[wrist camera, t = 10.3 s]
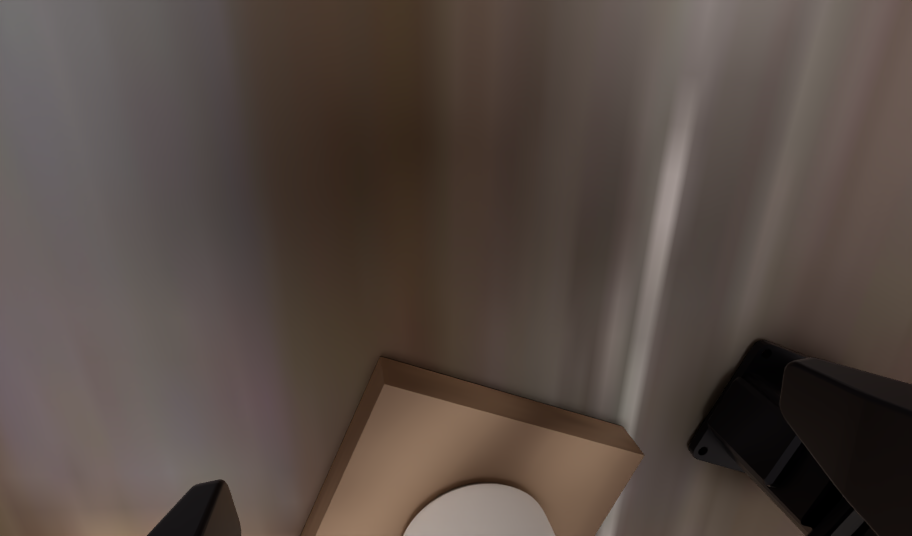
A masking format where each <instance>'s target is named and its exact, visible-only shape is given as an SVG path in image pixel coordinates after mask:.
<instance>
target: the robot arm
mask: <svg viewBox="0 0 912 536" xmlns="http://www.w3.org/2000/svg"><path fill="white" fill-rule="evenodd" d="M764 350H765V351H764ZM763 351H764V352H763ZM762 352H763V353H762ZM700 448H701V449H700ZM689 451H690V453H691V454H692V455H693V456H694V457H695V458H696V459H698V460H702V461H705V462H709V463H712V464H716V465H719V466H723V467H727V468H730V469H734V470H737V471H741V472H744V473H746V474H747V475H748V476H749V477H750V478H751V479H752V480H753V481H754V482H755V483H756V484H757V485H758V486H759V487H760V488H761V489H762V490H763V491H764V492H765V493H766V495H767V496H768V497H769V498H770V499H771V500H772V501H773V502H774V503H775V504H776V505H777V506H778V507H779V508H780V509H781V510H782V511H783V512H784V513H785V514H786V515H787V517H788V518H789V519H790V520H791V521H792V522H793V523H794V524H795V525H796V526H797V527H798V528H799V529H800V530H801V531H802V532H803V533H804V534H805V535H806V536H912V384H909V383H905V382H901V381H898V380H894V379H890V378H887V377H883V376H879V375H876V374H872V373H869V372H865V371H861V370H858V369H854V368H850V367H847V366H843V365H840V364H836V363H832V362H829V361H825V360H821V359H818V358H810V357H808V356H805V355H802V354H800V353H797V352H795V351H792V350H790V349H787V348H784V347H782V346H779V345H777V344H774V343H772V342H769V341H766V340H761V341H758V342H757V343H755V344H754V346H753V347H752V348H751V350H750V351H749V353H748V354H747V356H746V358H745V359H744V361H743V362H742V364H741V365H740V367H739V368H738V370H737V372H736V373H735V375H734V376H733V378H732V379H731V381H730V382H729V384H728V386H727V387H726V389H725V390H724V392H723V393H722V395H721V396H720V398H719V399H718V401H717V403H716V404H715V406H714V407H713V409H712V410H711V412H710V413H709V415H708V417H707V418H706V420H705V421H704V423H703V424H702V426H701V427H700V429H699V430H698V432H697V434H696V435H695V437H694V438H693V440H692V441H691V443H690V445H689ZM147 536H241V527H240V522H239V518H238V515H237V512H236V509H235V506H234V502H233V499H232V496H231V493H230V490H229V487H228V485H227V483H226V482H225V481H223V480H215V481H210V482H205V483H200V484H197V485H195V486H193V487H192V488H191V489H190V490H189V491H188V492H187V493H186V494H185V495H184V496H183V497H182V498H181V499H180V500H179V502H178V503H177V504H176V505H175V506H174V507H173V508H172V509H171V510H170V511H169V512H168V513H167V515H166V516H165V517H164V518H163V519H162V520H161V521H160V522H159V523H158V524H157V525H156V526H155V527H154V529H153V530H152V531H151V532H150V533H149V534H148V535H147Z"/></svg>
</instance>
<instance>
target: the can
mask: <svg viewBox="0 0 912 536" xmlns="http://www.w3.org/2000/svg"><path fill="white" fill-rule="evenodd" d="M403 536H555V534H554V532H553V529H552V527H551V525H550V523H549V521H548V519H547V517H546V515H545V513H544V511H543V509H542V508H541V506H540V505H539V503H538V502H537V501H536V500H535V499H534V498H533V497H531V496H530V495H529V494H527V493H525V492H523V491H521V490H519V489H517V488H514V487H511V486H507V485H503V484H498V483H473V484H468V485H463V486H460V487H457V488H454V489H452V490H449V491H447V492H445V493H443V494H441V495H440V496H438V497H436V498H435V499H433V500H432V501H431V502H429V503H428V504H427V505H426V506H425V507H424V508H423V509H422V510H421V511H420V512H419V513H418V514H417V515H416V517H415V518H414V519H413V520H412V521H411V523H410V524H409V526H408V527H407V529H406V531H405V533H404V535H403Z"/></svg>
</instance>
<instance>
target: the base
mask: <svg viewBox="0 0 912 536" xmlns="http://www.w3.org/2000/svg"><path fill="white" fill-rule="evenodd" d="M643 457H644V454H643V453H642V451H641V450H640V449H639V447H638V446H637V445H636V443H635V442H634V441H633V439H632V438H631V437H630V435H629V434H628V433H627V431H626V430H625V429H624V427H622V426H619V425H615V424H612V423H608V422H605V421H601V420H598V419H595V418H591V417H588V416H584V415H581V414H577V413H574V412H570V411H567V410H564V409H560V408H557V407H553V406H550V405H546V404H543V403H539V402H536V401H532V400H529V399H526V398H522V397H519V396H515V395H512V394H508V393H505V392H501V391H498V390H494V389H491V388H488V387H484V386H481V385H477V384H474V383H470V382H467V381H463V380H460V379H457V378H453V377H450V376H446V375H443V374H439V373H436V372H432V371H429V370H425V369H422V368H419V367H415V366H412V365H408V364H405V363H401V362H398V361H394V360H391V359H387V358H384V357H381V356H380V358H379V360H378V363H377V365H376V367H375V369H374V372H373V374H372V376H371V378H370V381H369V383H368V385H367V387H366V390H365V392H364V394H363V396H362V399H361V401H360V403H359V405H358V408H357V410H356V412H355V414H354V416H353V419H352V421H351V423H350V425H349V428H348V430H347V432H346V434H345V437H344V439H343V441H342V443H341V446H340V448H339V450H338V452H337V455H336V457H335V459H334V461H333V464H332V466H331V468H330V470H329V473H328V475H327V477H326V479H325V482H324V484H323V486H322V488H321V491H320V493H319V495H318V497H317V500H316V502H315V504H314V506H313V509H312V511H311V513H310V515H309V518H308V520H307V522H306V524H305V526H304V529H303V531H302V533H301V535H300V536H403V535H404V533H405V531H406V529H407V527H408V526H409V524H410V523H411V521H412V520H413V519H414V518H415V517H416V515H417V514H418V513H419V512H420V511H421V510H422V509H423V508H424V507H425V506H426V505H427V504H428V503H429V502H431V501H432V500H433V499H435V498H436V497H438V496H440V495H441V494H443V493H445V492H447V491H449V490H452V489H454V488H457V487H460V486H463V485H468V484H473V483H498V484H503V485H507V486H511V487H514V488H517V489H519V490H521V491H523V492H525V493H527V494H529V495H530V496H531V497H533V498H534V499H535V500H536V501H537V502H538V503H539V505H540V506H541V508H542V509H543V511H544V513H545V515H546V517H547V519H548V521H549V523H550V525H551V527H552V529H553V532H554V534H555V536H595V534H596V532H597V531H598V529H599V528H600V526H601V524H602V523H603V521H604V520H605V518H606V516H607V515H608V513H609V512H610V510H611V508H612V507H613V505H614V504H615V502H616V500H617V499H618V497H619V496H620V494H621V492H622V491H623V489H624V488H625V486H626V484H627V483H628V481H629V480H630V478H631V476H632V475H633V473H634V471H635V470H636V468H637V467H638V465H639V463H640V462H641V460H642V459H643Z"/></svg>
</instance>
